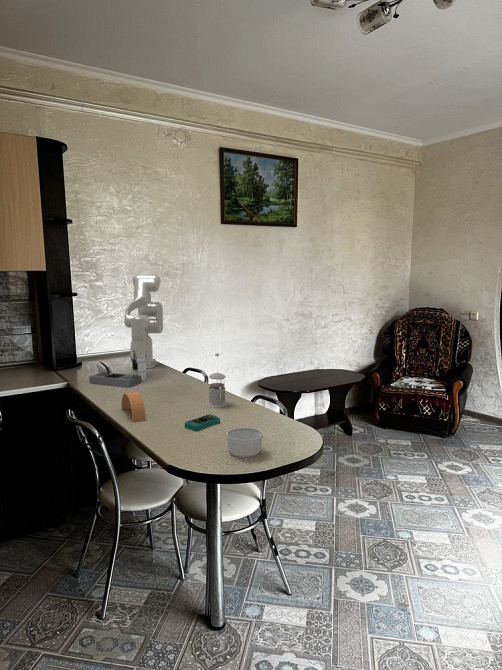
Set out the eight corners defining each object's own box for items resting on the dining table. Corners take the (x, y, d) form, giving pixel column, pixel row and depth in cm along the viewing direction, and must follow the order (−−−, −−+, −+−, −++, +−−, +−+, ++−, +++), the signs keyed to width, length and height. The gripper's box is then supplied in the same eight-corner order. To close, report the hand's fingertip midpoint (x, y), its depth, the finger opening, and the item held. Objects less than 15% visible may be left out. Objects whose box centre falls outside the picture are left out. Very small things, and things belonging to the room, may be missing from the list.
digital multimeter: (221, 423, 200) (221, 416, 200) (196, 432, 189) (196, 425, 188) (208, 419, 205) (208, 413, 204) (183, 428, 193) (183, 421, 193)
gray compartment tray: (102, 378, 275) (102, 371, 274) (141, 382, 266) (141, 375, 266) (89, 383, 263) (89, 376, 263) (129, 387, 255) (129, 380, 254)
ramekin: (220, 455, 165) (220, 436, 164) (234, 442, 177) (234, 425, 176) (255, 461, 160) (255, 442, 159) (267, 447, 172) (268, 429, 171)
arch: (132, 422, 199) (131, 399, 198) (121, 409, 216) (120, 388, 215) (145, 420, 202) (145, 397, 200) (133, 408, 219) (133, 387, 218)
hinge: (116, 377, 276) (110, 363, 273) (109, 381, 274) (103, 366, 271) (107, 372, 290) (101, 358, 286) (100, 376, 287) (93, 361, 284)
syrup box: (146, 379, 274) (146, 354, 272) (137, 381, 269) (137, 356, 267) (140, 377, 277) (140, 353, 275) (132, 379, 273) (131, 354, 271)
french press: (203, 405, 223) (203, 354, 219) (213, 399, 233) (213, 350, 230) (222, 408, 219) (222, 355, 216) (231, 401, 230) (232, 351, 227)
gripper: (140, 335, 279) (141, 364, 282) (124, 339, 263) (125, 370, 265) (151, 336, 277) (152, 365, 279) (135, 340, 260) (136, 371, 263)
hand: (139, 367), depth 272 cm, fingers closed on syrup box, 7 cm apart
